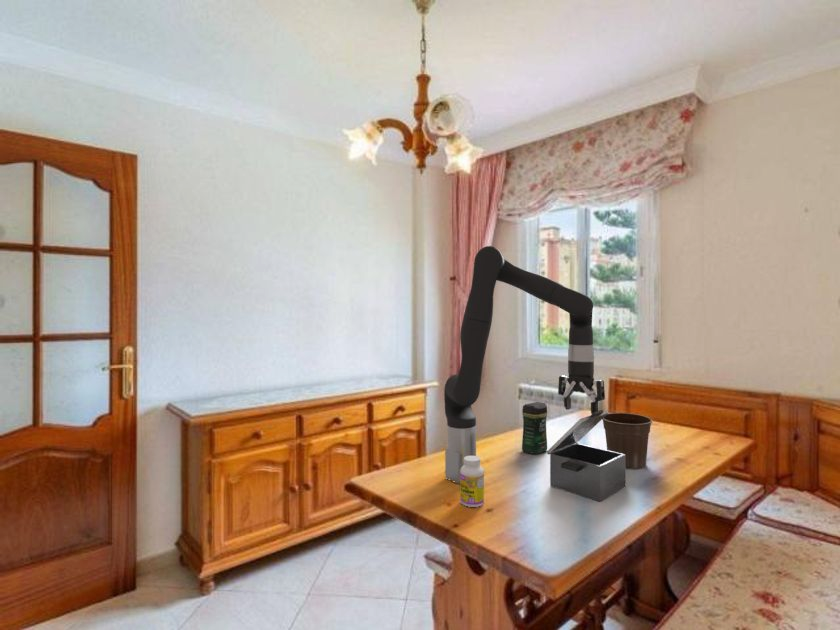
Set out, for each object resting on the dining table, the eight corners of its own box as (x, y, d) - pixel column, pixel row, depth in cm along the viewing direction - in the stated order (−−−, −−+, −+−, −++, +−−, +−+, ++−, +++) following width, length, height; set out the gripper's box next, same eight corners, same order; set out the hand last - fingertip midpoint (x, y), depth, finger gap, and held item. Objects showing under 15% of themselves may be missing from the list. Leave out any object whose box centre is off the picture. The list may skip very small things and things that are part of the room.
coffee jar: (536, 456, 170) (536, 406, 170) (518, 451, 176) (518, 403, 176) (551, 450, 177) (550, 402, 176) (533, 446, 183) (533, 399, 182)
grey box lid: (586, 417, 133) (580, 411, 134) (546, 456, 142) (541, 449, 144) (612, 409, 144) (607, 403, 145) (574, 445, 153) (569, 439, 155)
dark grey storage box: (595, 505, 128) (595, 469, 128) (544, 488, 140) (544, 455, 140) (629, 484, 143) (629, 452, 143) (581, 471, 155) (581, 441, 154)
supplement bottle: (455, 503, 130) (455, 458, 130) (470, 496, 134) (470, 452, 134) (474, 510, 125) (473, 463, 125) (489, 503, 130) (488, 458, 129)
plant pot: (622, 474, 152) (622, 425, 151) (591, 458, 167) (591, 414, 167) (663, 469, 156) (663, 421, 156) (629, 454, 171) (629, 411, 171)
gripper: (553, 358, 145) (553, 409, 145) (597, 362, 135) (596, 417, 135) (566, 356, 150) (566, 406, 151) (609, 360, 140) (608, 413, 140)
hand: (580, 411), depth 143 cm, fingers open, 8 cm apart
